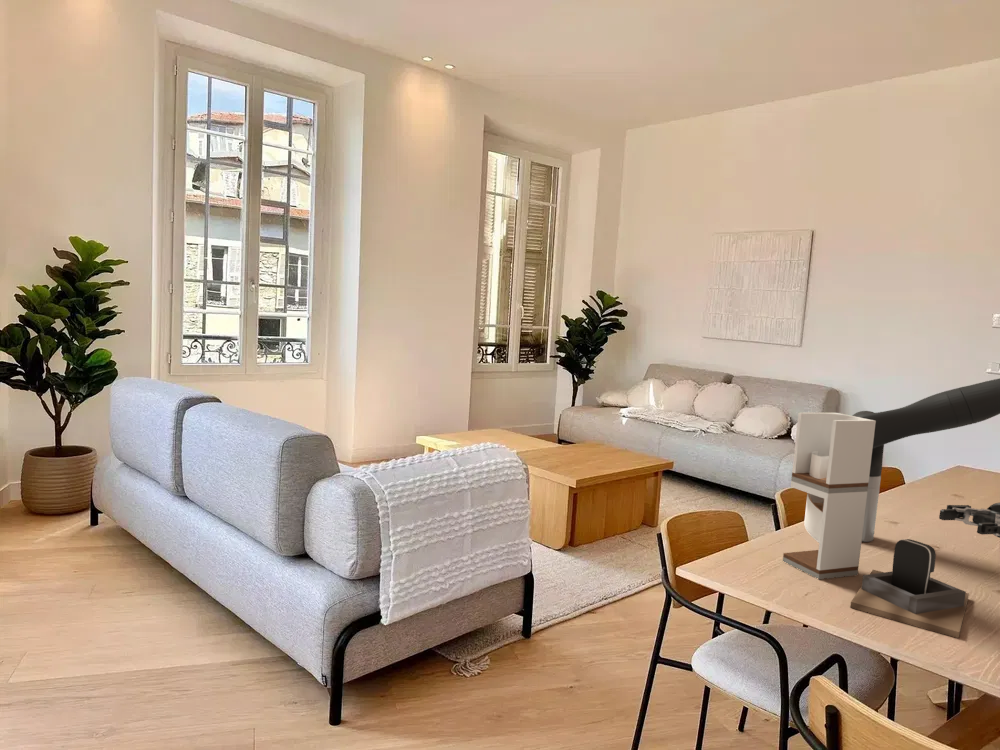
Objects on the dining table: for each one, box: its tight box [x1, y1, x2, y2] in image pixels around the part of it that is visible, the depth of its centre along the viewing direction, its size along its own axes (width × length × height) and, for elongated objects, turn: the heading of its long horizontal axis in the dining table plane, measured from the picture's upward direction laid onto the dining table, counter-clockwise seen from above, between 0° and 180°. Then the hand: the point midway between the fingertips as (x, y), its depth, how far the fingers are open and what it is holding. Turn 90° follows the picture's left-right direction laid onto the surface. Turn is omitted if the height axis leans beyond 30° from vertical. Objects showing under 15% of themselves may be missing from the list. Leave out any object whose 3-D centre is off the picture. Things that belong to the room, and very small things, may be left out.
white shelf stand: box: [782, 412, 876, 580], centre depth 157 cm, size 11×11×35 cm
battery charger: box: [891, 538, 937, 595], centre depth 141 cm, size 7×4×11 cm, turn 29°
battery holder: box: [849, 569, 970, 639], centre depth 141 cm, size 18×24×4 cm
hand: (959, 521), depth 143 cm, fingers open, 8 cm apart
